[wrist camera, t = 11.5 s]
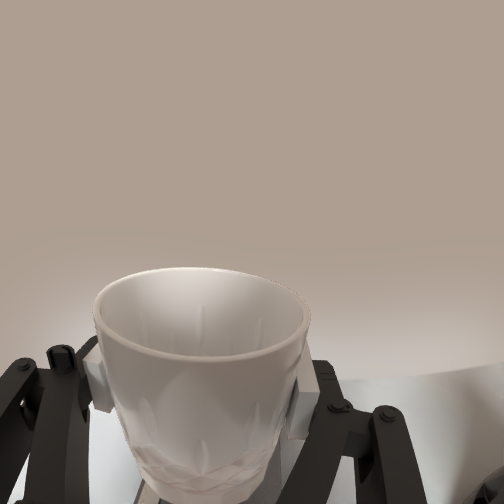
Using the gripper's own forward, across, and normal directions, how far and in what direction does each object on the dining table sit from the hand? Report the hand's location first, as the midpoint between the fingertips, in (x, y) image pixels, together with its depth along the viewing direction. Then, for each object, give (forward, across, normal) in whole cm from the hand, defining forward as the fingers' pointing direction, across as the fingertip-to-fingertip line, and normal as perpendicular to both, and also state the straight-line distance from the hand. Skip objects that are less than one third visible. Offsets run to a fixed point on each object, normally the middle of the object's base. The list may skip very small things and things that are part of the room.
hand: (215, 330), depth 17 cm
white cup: (-5, 0, -6) cm, 8 cm away
